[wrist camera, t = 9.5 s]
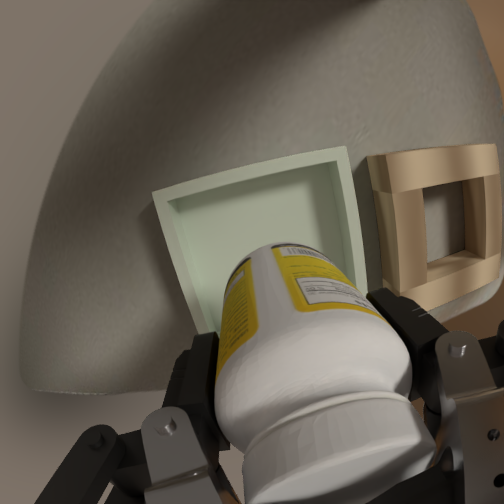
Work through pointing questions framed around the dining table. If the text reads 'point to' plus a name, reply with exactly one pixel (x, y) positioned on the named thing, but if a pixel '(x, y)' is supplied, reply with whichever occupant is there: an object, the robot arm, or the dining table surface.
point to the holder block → (414, 228)
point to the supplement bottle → (313, 384)
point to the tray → (259, 222)
